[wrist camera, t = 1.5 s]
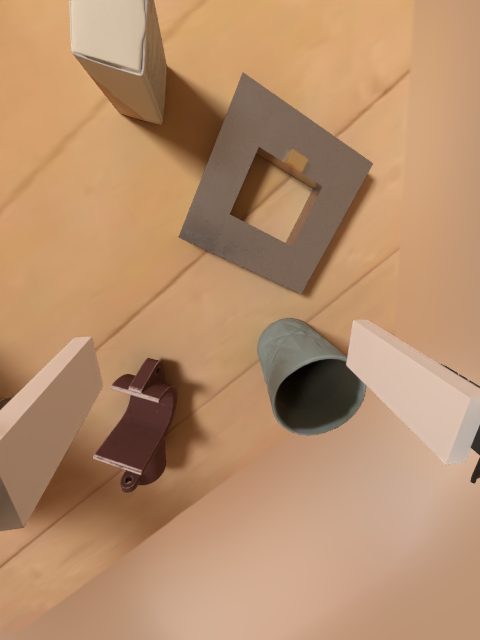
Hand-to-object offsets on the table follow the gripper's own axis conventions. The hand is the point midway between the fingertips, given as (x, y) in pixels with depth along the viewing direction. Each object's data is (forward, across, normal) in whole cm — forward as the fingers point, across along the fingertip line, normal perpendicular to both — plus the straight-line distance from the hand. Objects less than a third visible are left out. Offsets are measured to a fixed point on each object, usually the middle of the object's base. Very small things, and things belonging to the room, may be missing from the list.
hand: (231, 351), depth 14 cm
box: (+21, -6, +18) cm, 28 cm away
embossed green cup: (+21, +10, -11) cm, 26 cm away
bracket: (+21, -10, -19) cm, 31 cm away
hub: (+21, +7, +8) cm, 24 cm away
